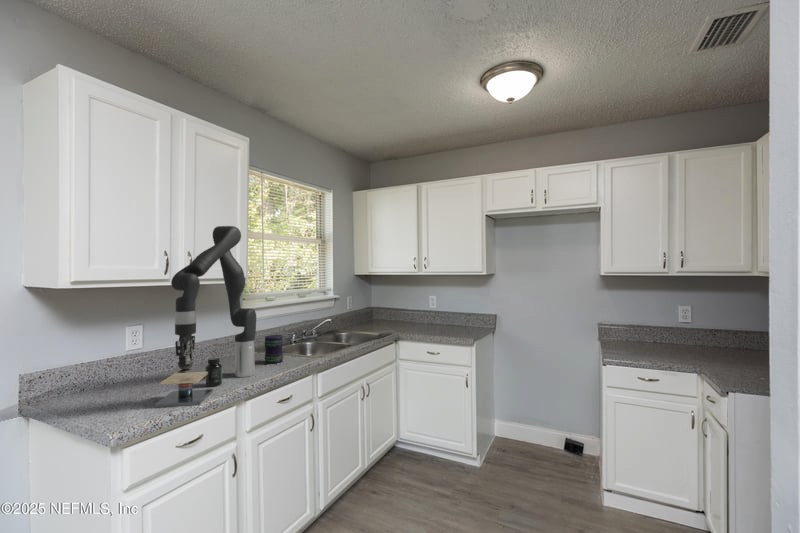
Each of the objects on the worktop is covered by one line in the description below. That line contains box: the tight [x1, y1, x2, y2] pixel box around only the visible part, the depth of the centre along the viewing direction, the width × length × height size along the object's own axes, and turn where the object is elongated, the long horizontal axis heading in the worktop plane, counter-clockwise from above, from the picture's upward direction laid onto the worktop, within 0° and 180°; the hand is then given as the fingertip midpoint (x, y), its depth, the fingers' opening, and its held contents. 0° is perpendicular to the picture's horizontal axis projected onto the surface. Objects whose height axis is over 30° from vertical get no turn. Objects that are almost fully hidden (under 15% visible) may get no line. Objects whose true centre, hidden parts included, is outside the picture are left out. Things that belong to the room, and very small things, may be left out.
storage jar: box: [264, 334, 284, 365], centre depth 216 cm, size 10×10×15 cm
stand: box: [154, 371, 214, 408], centre depth 154 cm, size 16×16×9 cm
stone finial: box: [176, 346, 195, 373], centre depth 155 cm, size 6×6×12 cm
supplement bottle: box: [204, 357, 223, 388], centre depth 174 cm, size 7×7×12 cm
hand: (185, 363), depth 155 cm, fingers closed on stone finial, 6 cm apart
